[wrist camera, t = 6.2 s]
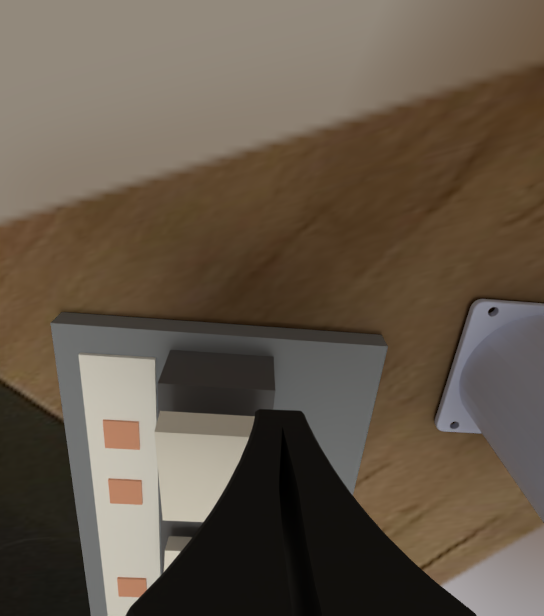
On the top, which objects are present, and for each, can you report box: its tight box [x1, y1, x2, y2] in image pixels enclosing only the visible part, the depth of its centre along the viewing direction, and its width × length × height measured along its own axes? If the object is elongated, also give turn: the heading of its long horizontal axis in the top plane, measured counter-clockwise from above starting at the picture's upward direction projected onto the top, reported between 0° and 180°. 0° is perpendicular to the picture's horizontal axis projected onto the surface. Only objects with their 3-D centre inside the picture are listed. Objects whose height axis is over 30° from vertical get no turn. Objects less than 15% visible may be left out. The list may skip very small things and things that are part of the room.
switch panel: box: [51, 312, 388, 616], centre depth 25 cm, size 16×25×4 cm, turn 175°
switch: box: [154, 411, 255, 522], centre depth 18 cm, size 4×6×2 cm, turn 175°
